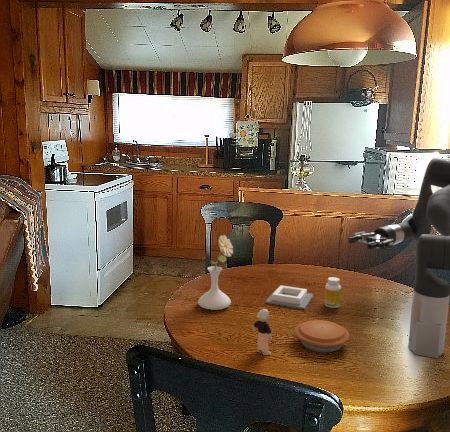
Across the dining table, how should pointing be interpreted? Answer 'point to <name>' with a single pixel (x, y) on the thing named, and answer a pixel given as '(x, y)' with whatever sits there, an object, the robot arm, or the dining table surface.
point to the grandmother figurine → (263, 331)
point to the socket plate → (290, 297)
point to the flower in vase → (214, 296)
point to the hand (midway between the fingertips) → (358, 243)
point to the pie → (322, 335)
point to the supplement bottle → (333, 292)
